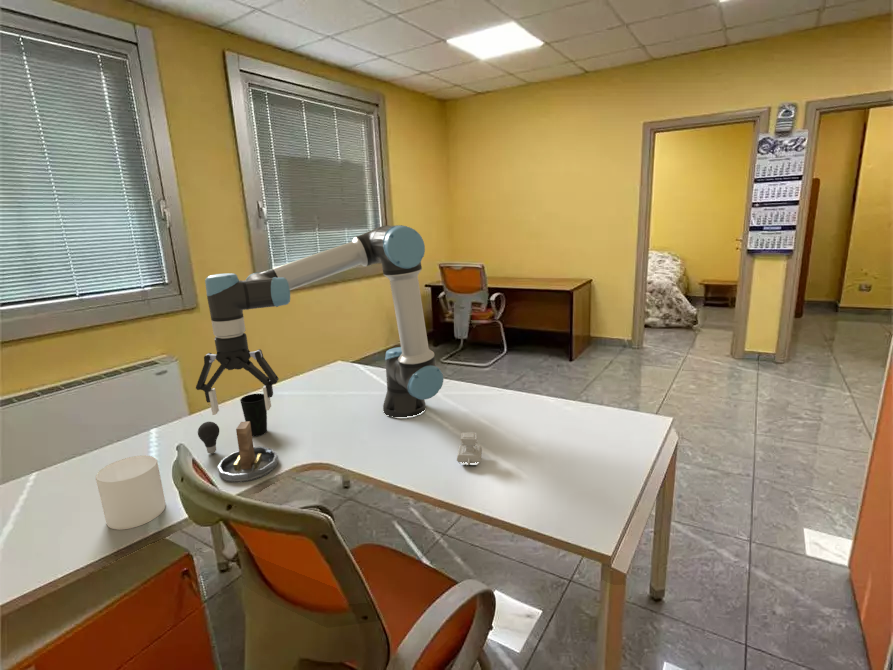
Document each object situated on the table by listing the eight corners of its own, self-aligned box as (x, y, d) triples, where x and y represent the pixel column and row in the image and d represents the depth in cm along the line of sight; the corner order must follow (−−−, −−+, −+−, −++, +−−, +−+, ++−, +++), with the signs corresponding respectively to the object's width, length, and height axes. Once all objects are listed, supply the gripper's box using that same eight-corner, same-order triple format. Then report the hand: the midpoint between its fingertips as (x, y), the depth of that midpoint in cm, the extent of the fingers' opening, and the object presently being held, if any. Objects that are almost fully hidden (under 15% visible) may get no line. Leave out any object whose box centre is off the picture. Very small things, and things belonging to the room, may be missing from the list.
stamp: (481, 471, 122) (481, 443, 120) (456, 470, 123) (456, 442, 121) (481, 454, 131) (482, 428, 129) (459, 454, 132) (458, 427, 129)
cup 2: (261, 438, 143) (256, 403, 140) (239, 437, 144) (234, 401, 141) (275, 428, 150) (271, 394, 147) (254, 426, 151) (250, 392, 148)
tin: (282, 451, 134) (281, 443, 134) (270, 479, 120) (269, 470, 119) (229, 456, 132) (227, 448, 132) (210, 485, 118) (209, 476, 117)
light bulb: (227, 450, 136) (222, 419, 133) (212, 459, 131) (206, 427, 128) (212, 447, 138) (207, 417, 135) (197, 456, 132) (191, 425, 130)
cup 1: (140, 495, 114) (131, 452, 111) (177, 502, 111) (169, 458, 108) (93, 525, 103) (82, 478, 100) (132, 534, 100) (122, 486, 97)
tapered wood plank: (255, 460, 128) (250, 421, 125) (251, 468, 124) (245, 428, 121) (246, 460, 128) (240, 421, 125) (241, 469, 124) (235, 429, 121)
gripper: (283, 327, 122) (292, 401, 127) (184, 334, 119) (198, 408, 124) (277, 334, 115) (287, 412, 120) (172, 341, 111) (187, 420, 117)
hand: (242, 410), depth 122 cm, fingers open, 13 cm apart
